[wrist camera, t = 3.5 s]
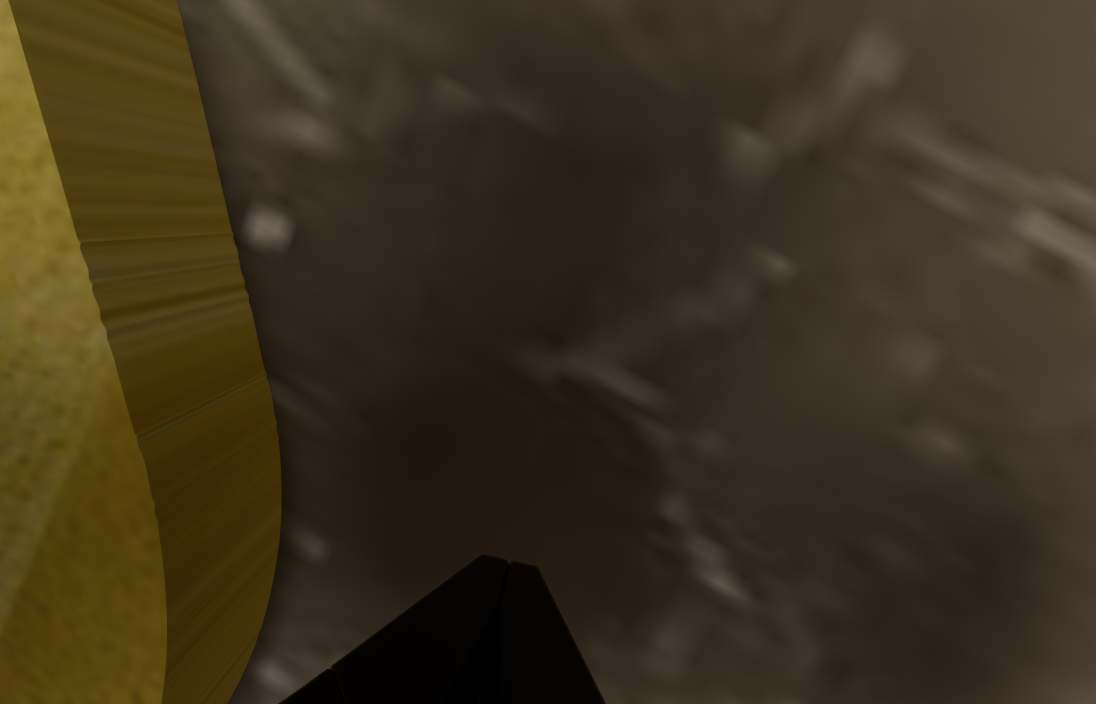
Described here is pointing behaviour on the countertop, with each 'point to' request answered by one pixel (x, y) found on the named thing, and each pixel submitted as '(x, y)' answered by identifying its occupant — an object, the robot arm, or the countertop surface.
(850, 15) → the countertop surface
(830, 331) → the countertop surface
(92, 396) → the sign
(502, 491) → the countertop surface
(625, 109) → the countertop surface
